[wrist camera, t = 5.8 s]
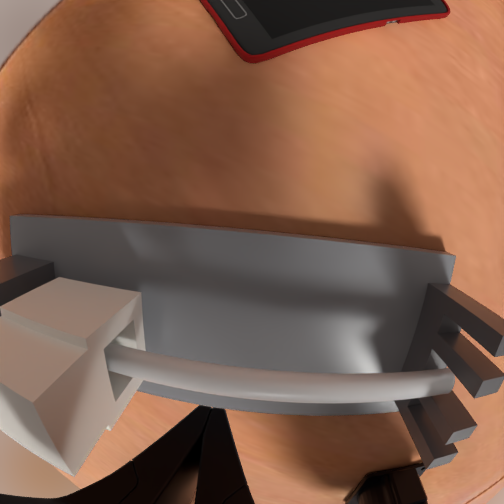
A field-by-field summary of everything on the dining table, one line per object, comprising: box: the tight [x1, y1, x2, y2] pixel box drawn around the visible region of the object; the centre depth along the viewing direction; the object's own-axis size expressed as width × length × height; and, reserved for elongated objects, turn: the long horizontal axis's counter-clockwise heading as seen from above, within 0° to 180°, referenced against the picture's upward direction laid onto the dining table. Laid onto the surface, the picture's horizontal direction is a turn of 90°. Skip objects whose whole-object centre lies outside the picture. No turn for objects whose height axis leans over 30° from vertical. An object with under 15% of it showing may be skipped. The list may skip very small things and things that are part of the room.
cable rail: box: [0, 214, 504, 470], centre depth 11 cm, size 26×10×7 cm, turn 85°
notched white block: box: [0, 277, 146, 477], centre depth 9 cm, size 5×4×7 cm
